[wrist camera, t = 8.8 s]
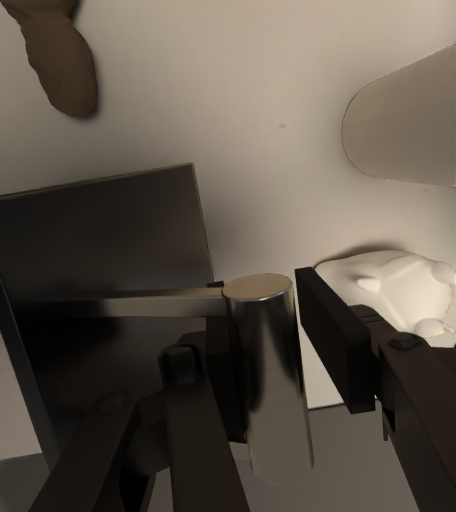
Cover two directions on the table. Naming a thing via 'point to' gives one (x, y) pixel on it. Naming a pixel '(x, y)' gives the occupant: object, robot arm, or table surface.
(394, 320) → the piggy bank
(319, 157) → the table surface
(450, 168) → the container
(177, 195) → the lid
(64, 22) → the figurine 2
